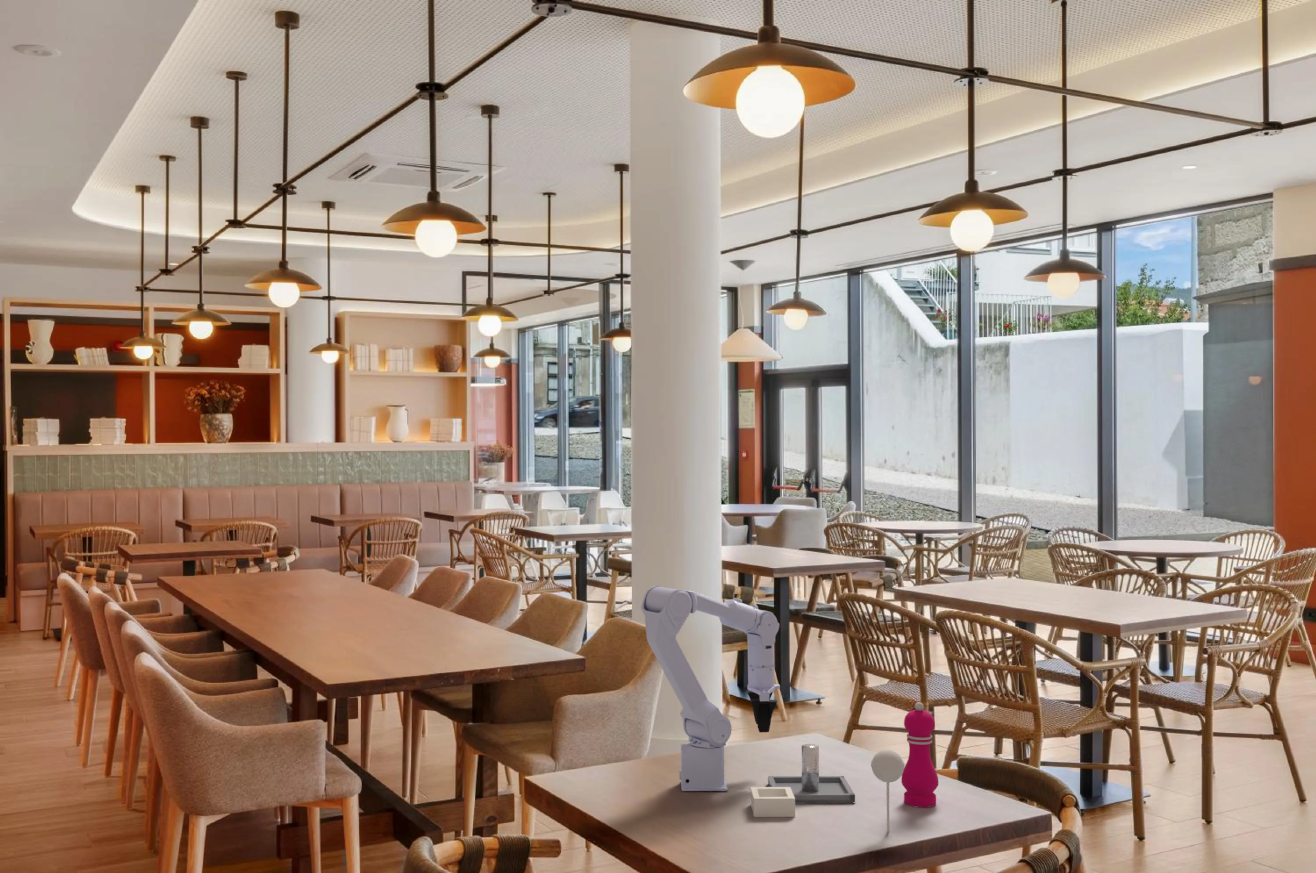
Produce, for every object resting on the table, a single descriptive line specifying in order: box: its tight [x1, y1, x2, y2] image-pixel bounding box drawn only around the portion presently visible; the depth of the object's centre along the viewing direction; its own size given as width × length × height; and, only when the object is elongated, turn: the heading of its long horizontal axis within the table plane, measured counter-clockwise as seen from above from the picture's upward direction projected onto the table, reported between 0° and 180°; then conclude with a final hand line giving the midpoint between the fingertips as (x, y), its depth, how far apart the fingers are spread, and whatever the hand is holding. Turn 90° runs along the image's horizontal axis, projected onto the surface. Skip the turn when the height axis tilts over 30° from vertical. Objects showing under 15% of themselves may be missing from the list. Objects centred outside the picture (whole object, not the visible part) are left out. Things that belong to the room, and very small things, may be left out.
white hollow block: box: [750, 786, 796, 818], centre depth 223 cm, size 8×8×4 cm
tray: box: [767, 775, 856, 804], centre depth 235 cm, size 16×14×2 cm
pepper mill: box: [900, 701, 939, 808], centre depth 228 cm, size 7×7×20 cm
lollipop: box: [870, 748, 905, 833], centre depth 210 cm, size 6×6×15 cm
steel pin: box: [801, 743, 820, 792], centre depth 235 cm, size 4×4×9 cm
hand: (762, 727), depth 248 cm, fingers open, 7 cm apart
